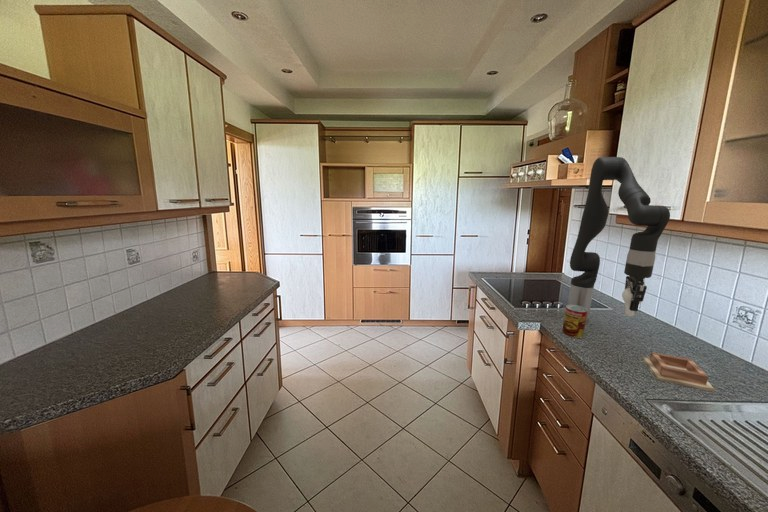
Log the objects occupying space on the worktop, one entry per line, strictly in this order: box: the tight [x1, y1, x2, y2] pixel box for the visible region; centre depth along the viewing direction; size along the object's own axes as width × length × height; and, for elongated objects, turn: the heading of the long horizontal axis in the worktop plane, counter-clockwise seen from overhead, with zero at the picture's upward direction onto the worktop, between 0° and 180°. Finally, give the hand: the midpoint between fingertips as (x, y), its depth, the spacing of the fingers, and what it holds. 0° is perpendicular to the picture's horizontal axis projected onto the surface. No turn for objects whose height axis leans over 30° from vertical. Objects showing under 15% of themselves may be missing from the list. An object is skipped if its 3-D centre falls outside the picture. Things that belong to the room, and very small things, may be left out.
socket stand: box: [642, 351, 716, 393], centre depth 102 cm, size 14×14×4 cm
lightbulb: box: [621, 288, 643, 317], centre depth 109 cm, size 6×6×11 cm
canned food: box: [561, 304, 588, 339], centre depth 130 cm, size 8×8×12 cm
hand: (630, 307), depth 109 cm, fingers closed on lightbulb, 5 cm apart
